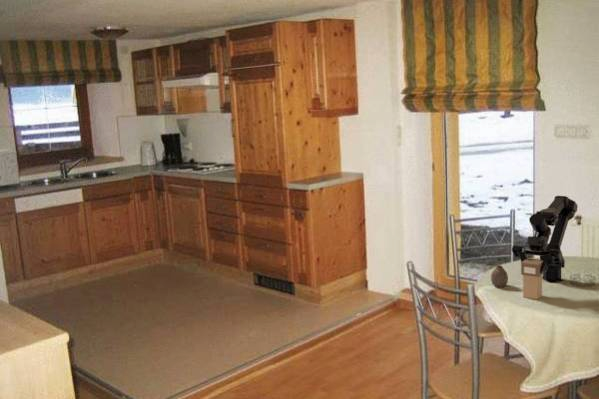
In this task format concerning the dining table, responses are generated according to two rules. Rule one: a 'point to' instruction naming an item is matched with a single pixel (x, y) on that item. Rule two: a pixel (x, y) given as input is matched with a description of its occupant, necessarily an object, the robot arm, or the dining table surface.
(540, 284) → the mailer box
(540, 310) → the dining table surface
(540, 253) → the robot arm
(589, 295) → the dining table surface
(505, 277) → the vase
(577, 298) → the dining table surface
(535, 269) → the lid
